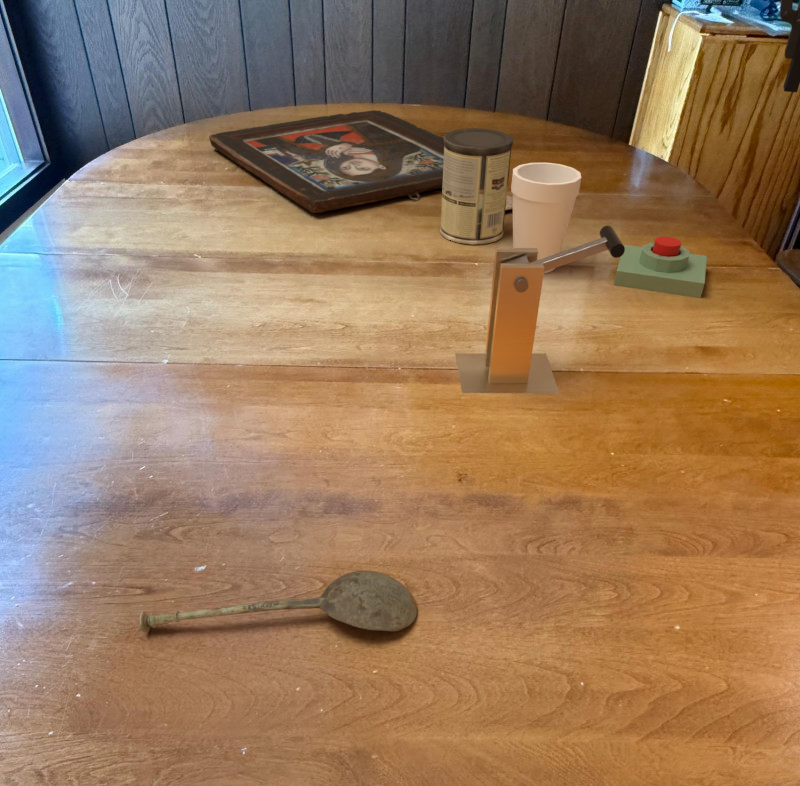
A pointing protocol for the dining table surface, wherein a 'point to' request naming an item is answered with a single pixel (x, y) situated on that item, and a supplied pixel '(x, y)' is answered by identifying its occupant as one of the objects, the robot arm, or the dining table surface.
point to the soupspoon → (329, 604)
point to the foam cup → (543, 205)
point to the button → (666, 246)
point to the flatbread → (509, 203)
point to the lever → (580, 251)
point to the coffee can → (475, 185)
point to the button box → (661, 271)
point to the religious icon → (339, 158)
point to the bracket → (510, 333)
